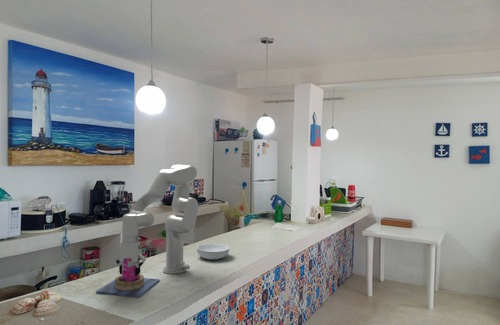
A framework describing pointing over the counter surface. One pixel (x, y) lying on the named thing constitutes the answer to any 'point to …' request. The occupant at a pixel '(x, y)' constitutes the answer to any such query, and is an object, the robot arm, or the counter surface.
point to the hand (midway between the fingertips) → (129, 274)
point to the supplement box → (128, 270)
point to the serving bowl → (212, 251)
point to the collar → (128, 286)
